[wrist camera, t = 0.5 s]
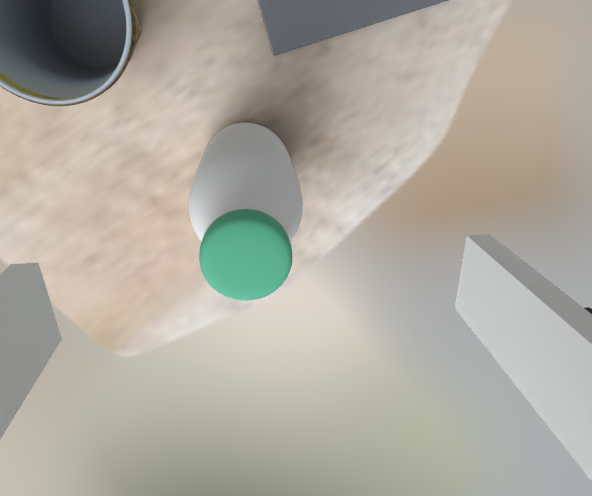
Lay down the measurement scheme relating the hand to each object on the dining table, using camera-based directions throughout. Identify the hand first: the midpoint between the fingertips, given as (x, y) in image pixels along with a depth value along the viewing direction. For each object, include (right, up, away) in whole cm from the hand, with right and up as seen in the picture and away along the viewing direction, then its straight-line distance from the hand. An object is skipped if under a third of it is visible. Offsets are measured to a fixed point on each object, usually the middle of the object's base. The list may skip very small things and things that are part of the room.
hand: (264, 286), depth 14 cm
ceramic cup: (-16, +18, +20) cm, 31 cm away
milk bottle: (-3, +9, +26) cm, 27 cm away
